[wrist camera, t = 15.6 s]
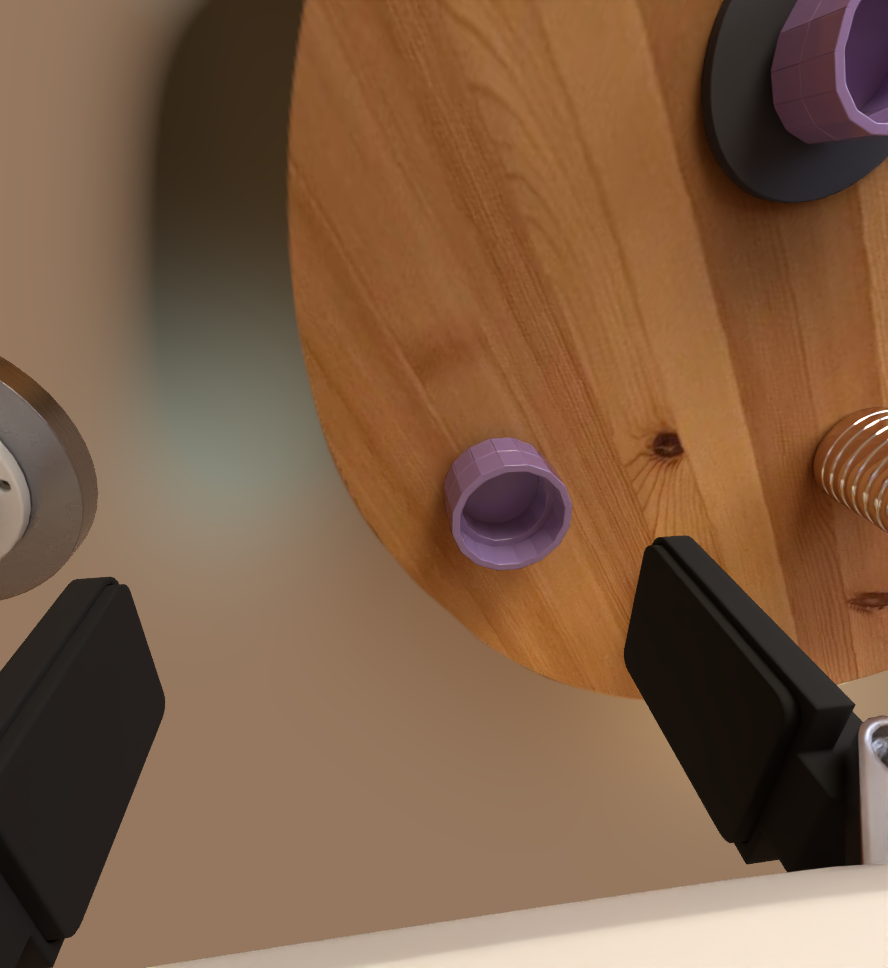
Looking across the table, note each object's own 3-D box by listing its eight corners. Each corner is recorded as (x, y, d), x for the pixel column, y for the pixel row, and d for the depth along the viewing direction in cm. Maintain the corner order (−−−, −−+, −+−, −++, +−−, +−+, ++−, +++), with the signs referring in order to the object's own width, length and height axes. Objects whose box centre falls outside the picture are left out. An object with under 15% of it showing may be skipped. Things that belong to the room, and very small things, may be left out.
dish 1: (442, 533, 36) (451, 574, 32) (442, 436, 33) (452, 468, 29) (543, 526, 37) (565, 565, 33) (553, 431, 33) (578, 461, 29)
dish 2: (746, 144, 27) (812, 133, 23) (787, -42, 24) (872, -92, 20) (872, 146, 28) (957, 136, 24) (928, -34, 24) (1037, -80, 20)
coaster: (678, 202, 28) (686, 202, 28) (735, -119, 23) (747, -129, 22) (884, 203, 30) (897, 203, 29) (985, -100, 24) (1003, -109, 24)
